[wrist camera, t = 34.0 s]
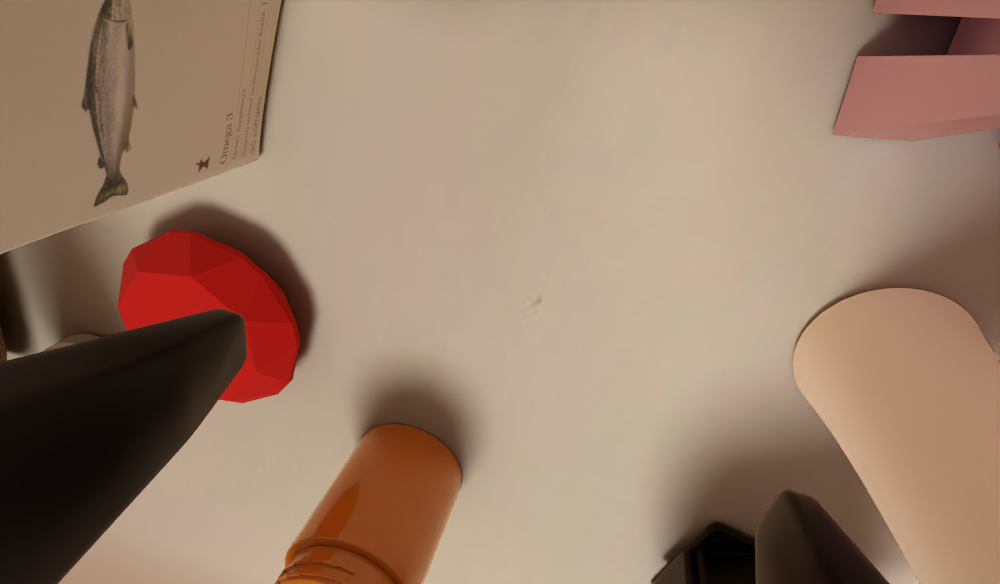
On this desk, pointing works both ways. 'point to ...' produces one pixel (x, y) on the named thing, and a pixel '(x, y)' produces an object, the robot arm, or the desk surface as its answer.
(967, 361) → the cosmetic bottle
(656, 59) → the desk surface
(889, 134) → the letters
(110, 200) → the white packaging box
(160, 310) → the gemstone
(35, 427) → the robot arm
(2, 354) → the stone weight
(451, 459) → the jam jar
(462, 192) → the desk surface
